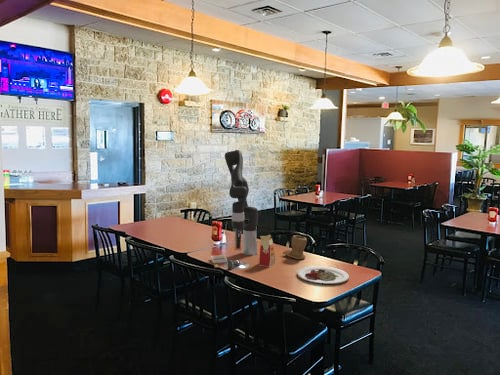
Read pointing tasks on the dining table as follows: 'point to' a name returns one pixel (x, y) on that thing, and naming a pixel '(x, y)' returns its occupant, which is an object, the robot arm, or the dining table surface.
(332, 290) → the dining table surface
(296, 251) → the tan boot
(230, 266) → the crank
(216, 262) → the tray
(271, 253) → the milk carton
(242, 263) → the base disc
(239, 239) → the stop pin
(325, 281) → the plated food
